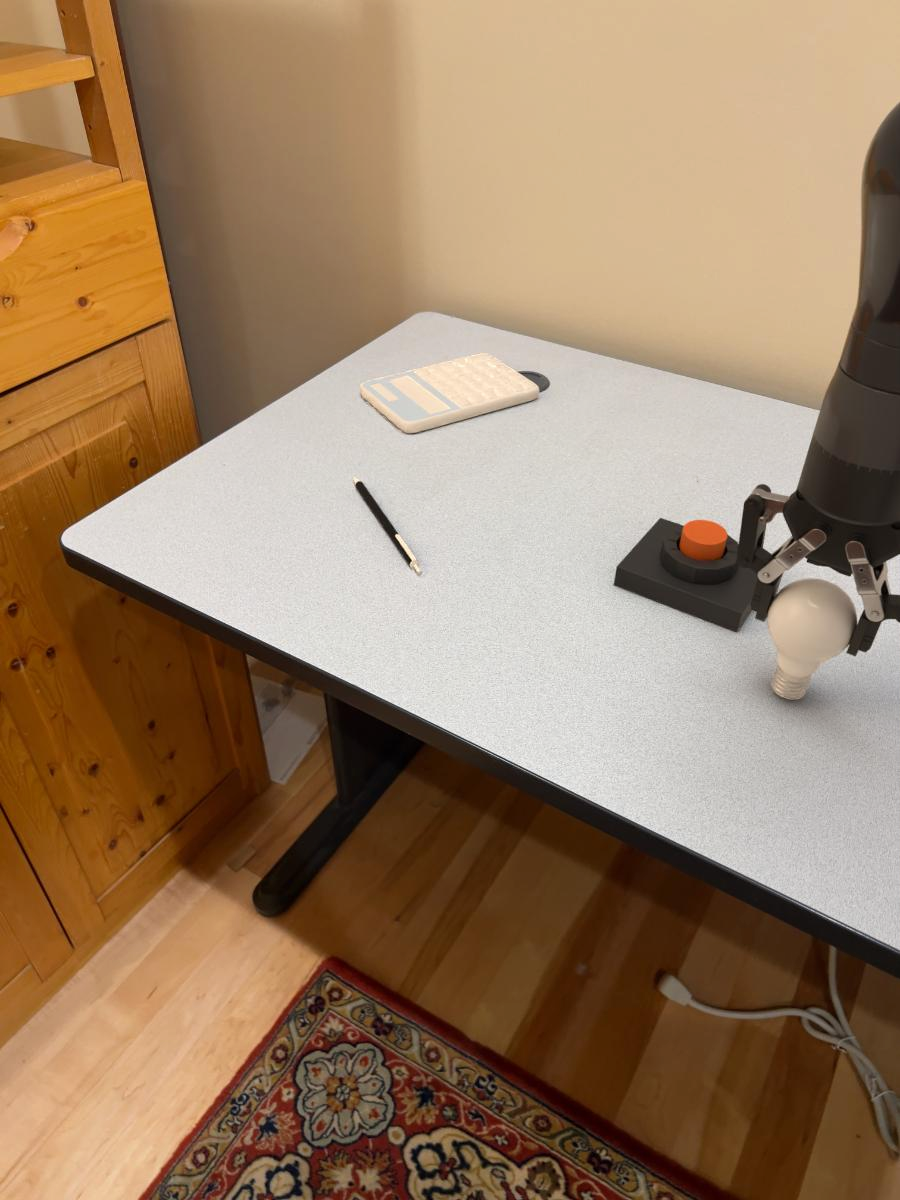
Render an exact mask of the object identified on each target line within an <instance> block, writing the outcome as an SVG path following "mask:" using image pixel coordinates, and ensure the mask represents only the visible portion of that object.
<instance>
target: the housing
mask: <svg viewBox="0 0 900 1200" xmlns="http://www.w3.org/2000/svg"><path fill="white" fill-rule="evenodd" d="M683 527H684V525H683V524H680V523H677V522H674V521H671V520H669V519H667V518H663V517H659V518H658V519H657V520H656V522H655V523H654V524H653V525H652V526H651V528H650V529H649V530H648V531H647V532H646V533H645V534H644V535H643V536H642V537H641V538H640V540H639V541H638V542H637V543H636V544H635V546H633V548H631V550H630V551H629V552H628V553H627V555H626V556H624V558H623V559H622V560H621V561H620V562H619V563H618V565H616V569H615V575H614V582H613V586H616V587H618V588H621V589H624V590H626V591H628V592H631V593H634V594H637V595H639V596H642V597H644V598H646V599H649V600H652V601H655V602H658V603H659V604H663V605H665V606H668V607H670V608H673V609H675V610H679V611H681V612H683V613H686V614H688V615H691V616H693V617H697V618H699V619H702V620H704V621H706V622H709V623H712V624H715V625H717V626H720V627H721V628H722V627H723V628H725V629H727V630H730V631H733V632H736V633H737V632H739V630H740V628H741V627H742V625H743V624H744V622H745V620H746V619H747V617H748V616H749V614H750V613H751V611H752V610H751V605H750V603H751V600H752V597H753V593H754V590H755V586H756V583H757V575H756V573H755V572H754V571H753V570H751V569H750V568H742V567H740V566H739V565H738V563H737V552H738V545H739V541H737V540H735V539H734V538H733V537H732V536H730V535H729V534H728V533H727V535H728V537H727V541H726V545H725V549H724V553H723V556H722V557H721V558H720V559H718V560H715V561H699V560H696V559H693V558H690V557H687V556H685V555H684V554H683V553H682V552H681V551H680V549H679V544H680V539H681V535H682V530H683Z"/></svg>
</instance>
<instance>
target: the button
mask: <svg viewBox="0 0 900 1200" xmlns="http://www.w3.org/2000/svg"><path fill="white" fill-rule="evenodd" d="M683 526H684V527H683V530H682V535H681V539H680V544H679V549H680V551H681V552H682V553H683V554H684V555H685V556H687V557H690V558H693V559H696V560H699V561H715V560H718V559H720V558H721V557H722V556H723V553H724V549H725V545H726V541H727V537H728V535H729V534H728V532H727V530H726V528H725V527H724V526H722V525H721V524H719V523H717V522H715V521H711V520H708V519H707V520H706V519H694V520H690V521H688V522H686V523H685V524H684V525H683ZM727 534H728V535H727Z"/></svg>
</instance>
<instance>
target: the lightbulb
mask: <svg viewBox="0 0 900 1200" xmlns="http://www.w3.org/2000/svg"><path fill="white" fill-rule="evenodd" d="M766 624H767V630H768V633H769V636H770V638H771V640H772V642H773V644H774V647H775V649H776V651H775V659H776V667H775V671H774V673H773V677H772V680H771V683H770V685H771V689H772V691H773V692H774V693H775V694H776V695H778V696H779V697H780V698H783V699H786V700H793V701H795V700H799V699H802V698H803V697H804V696H805V695H806V692H807V689H808V688H809V684H810V681H811V679H812V676H813V675H814V674H815V673H816V672H818V670H819V669H820V668H821V666H822V665H823V664H824V663H825V662H827V661H829V660H830V661H831V659H834V658H835V657H837V656H839V655H840V654H841V653H843V652H844V651H845V650H846V649H848V647H849V644H850V642H851V639H852V637H853V634H854V632H855V629H856V626H857V624H858V612H857V608H856V606H855V604H854V602H853V600H852V598H851V597H850V595H849V594H848V593H847V592H846V591H845V590H844V589H843V588H842V587H840V586H839V585H837V584H836V583H834V582H832V581H828V580H826V579H821V578H809V577H808V578H802V579H798V580H795V581H791V583H789V584H786V585H785V586H784V587H783V588H781V589H780V590H778V591H777V594H776V596H775V597H774V598H773V600H772V602H771V604H770V607H769V610H768V614H767V618H766Z"/></svg>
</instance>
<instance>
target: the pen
mask: <svg viewBox="0 0 900 1200" xmlns="http://www.w3.org/2000/svg"><path fill="white" fill-rule="evenodd" d="M352 479H353V483H354V487H355V488H356V490H357V492H358V493H359V494H360V496H361V497H362V499H363V500H364V501H365V503H366V504H367V506H368V507H369V509H370V510H371V512H372V513H373V514H374V516H375V518H376V519H377V520H378V522H379V523H380V525H381V526H382V528H383V530H384V531H385V532H386V534H387V535H388V537H389V538H390V539H391V541H392V543H393V544H394V545H395V546H396V548H397V550H398V551H399V553H400V554H401V555H402V557H403V558H404V560H405V561H406V563H407V564H408V566H409V567H410V568H411V569H412V570H415V571H416V573H417V574H418V575H422V573H423V572H422V570H421V569H420V562H419V561H418V560H417V557H416V556H415V555H414V554H413V552H412V550H411V549H410V548H409V546H408V544H406V542H405V541H404V539H403V538H402V536H401V535H400V534H399V532H398V531H397V529H396V528H395V527H394V525H393V524H392V522H391V520H389V518H388V517H387V515H386V513H384V511H383V510H382V508H381V507H380V505H379V503H377V501H376V499H375V498H374V496H373V495H372V494H371V493H370V491H369V490H368V488H367V487H366V485H365V484H364V483H363V481H361V480H360V479H359V478H357V477H356V476H353V478H352Z"/></svg>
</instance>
